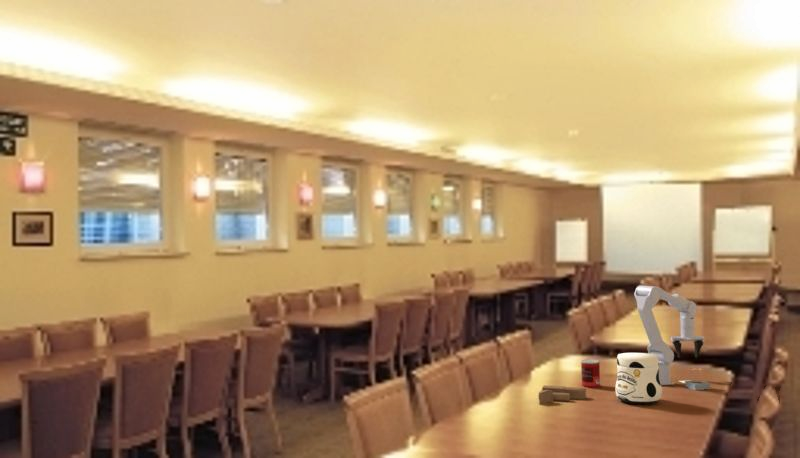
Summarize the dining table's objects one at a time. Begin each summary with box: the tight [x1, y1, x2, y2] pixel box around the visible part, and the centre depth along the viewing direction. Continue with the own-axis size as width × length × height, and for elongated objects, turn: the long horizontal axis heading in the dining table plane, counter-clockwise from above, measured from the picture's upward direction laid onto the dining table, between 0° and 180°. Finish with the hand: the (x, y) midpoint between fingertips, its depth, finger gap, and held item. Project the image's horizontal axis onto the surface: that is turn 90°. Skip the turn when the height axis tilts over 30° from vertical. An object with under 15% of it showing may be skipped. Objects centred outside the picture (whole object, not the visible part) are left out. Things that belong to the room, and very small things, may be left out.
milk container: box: [614, 352, 663, 405], centre depth 277 cm, size 17×17×18 cm
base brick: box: [684, 380, 711, 391], centre depth 299 cm, size 7×7×3 cm
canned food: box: [580, 358, 601, 389], centre depth 307 cm, size 8×8×11 cm
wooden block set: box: [538, 385, 587, 406], centre depth 280 cm, size 17×6×18 cm
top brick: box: [689, 367, 705, 382], centre depth 300 cm, size 4×4×5 cm
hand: (688, 357), depth 318 cm, fingers open, 7 cm apart
